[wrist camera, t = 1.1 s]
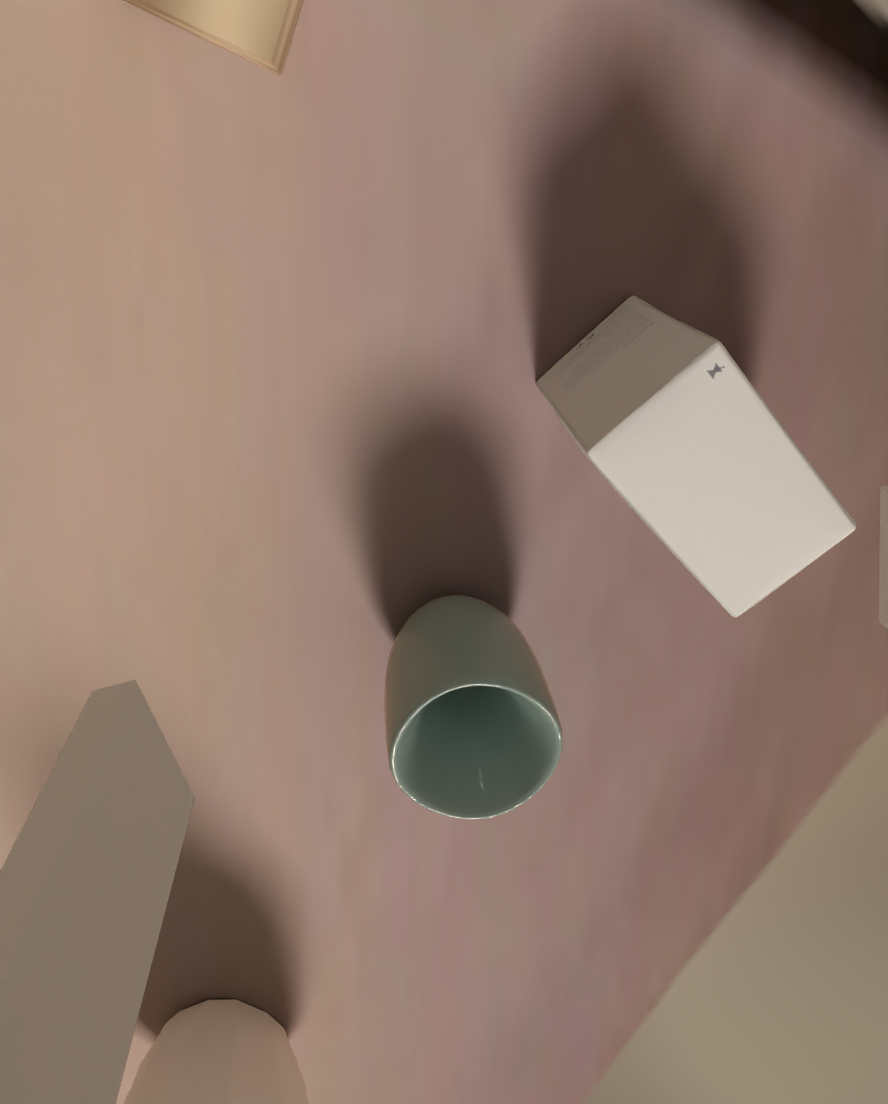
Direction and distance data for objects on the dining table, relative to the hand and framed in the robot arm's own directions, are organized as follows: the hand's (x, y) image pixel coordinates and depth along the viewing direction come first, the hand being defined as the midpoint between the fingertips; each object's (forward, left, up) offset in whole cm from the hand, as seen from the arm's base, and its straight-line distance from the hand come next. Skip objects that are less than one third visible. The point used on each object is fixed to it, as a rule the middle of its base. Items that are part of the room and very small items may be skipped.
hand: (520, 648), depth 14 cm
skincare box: (+12, +1, -26) cm, 29 cm away
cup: (+8, -14, -26) cm, 31 cm away
